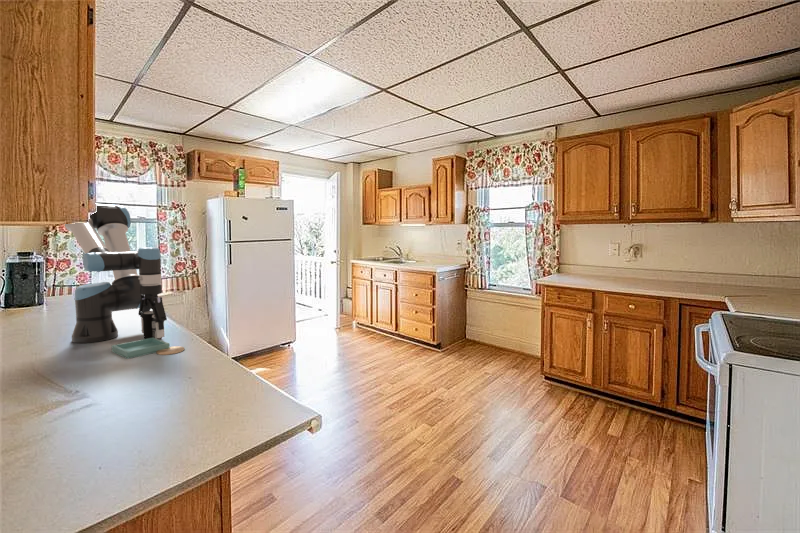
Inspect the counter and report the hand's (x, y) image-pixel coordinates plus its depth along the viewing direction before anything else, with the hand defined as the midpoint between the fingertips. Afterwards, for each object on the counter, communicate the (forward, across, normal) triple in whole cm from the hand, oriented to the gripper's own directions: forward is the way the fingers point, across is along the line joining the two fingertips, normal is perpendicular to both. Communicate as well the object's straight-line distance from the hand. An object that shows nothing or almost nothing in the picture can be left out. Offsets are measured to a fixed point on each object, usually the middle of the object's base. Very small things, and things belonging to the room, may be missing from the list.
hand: (153, 334), depth 154 cm
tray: (+2, +12, -9) cm, 15 cm away
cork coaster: (+2, +22, -3) cm, 22 cm away
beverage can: (+2, 0, 0) cm, 2 cm away
